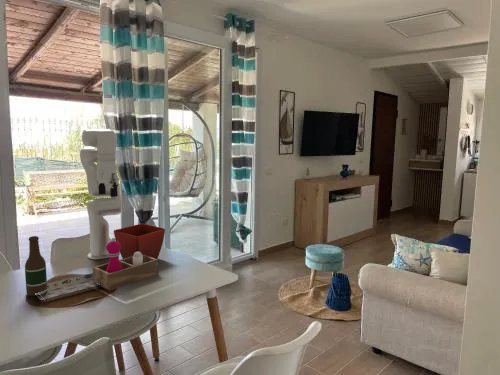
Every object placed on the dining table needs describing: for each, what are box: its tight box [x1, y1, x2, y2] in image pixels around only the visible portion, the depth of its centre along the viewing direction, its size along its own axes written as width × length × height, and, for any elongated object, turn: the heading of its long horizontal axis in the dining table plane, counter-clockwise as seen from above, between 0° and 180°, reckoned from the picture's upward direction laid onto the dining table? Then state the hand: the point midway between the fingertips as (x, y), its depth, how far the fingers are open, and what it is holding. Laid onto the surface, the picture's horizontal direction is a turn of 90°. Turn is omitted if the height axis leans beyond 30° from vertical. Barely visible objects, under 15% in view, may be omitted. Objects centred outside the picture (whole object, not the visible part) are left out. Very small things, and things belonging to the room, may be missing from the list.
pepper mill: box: [106, 237, 123, 273], centre depth 164 cm, size 7×7×20 cm
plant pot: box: [113, 223, 166, 259], centre depth 196 cm, size 19×19×17 cm
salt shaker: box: [133, 252, 143, 266], centre depth 174 cm, size 4×4×11 cm
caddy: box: [92, 254, 159, 291], centre depth 170 cm, size 13×25×8 cm, turn 142°
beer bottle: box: [24, 235, 48, 298], centre depth 153 cm, size 8×8×24 cm
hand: (108, 195), depth 169 cm, fingers open, 9 cm apart
